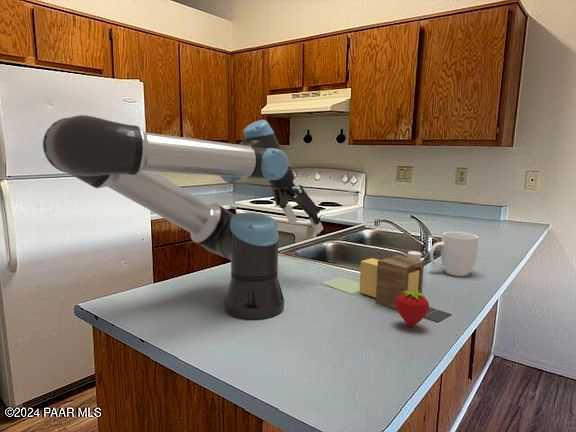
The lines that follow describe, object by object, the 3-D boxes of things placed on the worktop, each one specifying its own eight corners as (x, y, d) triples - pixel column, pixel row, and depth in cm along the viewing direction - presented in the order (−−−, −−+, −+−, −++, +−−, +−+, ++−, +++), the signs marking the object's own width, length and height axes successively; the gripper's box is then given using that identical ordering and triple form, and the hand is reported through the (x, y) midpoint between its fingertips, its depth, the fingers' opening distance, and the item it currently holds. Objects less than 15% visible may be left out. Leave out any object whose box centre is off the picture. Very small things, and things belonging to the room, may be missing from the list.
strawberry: (397, 318, 96) (400, 278, 95) (430, 325, 93) (433, 284, 91) (390, 327, 91) (393, 285, 90) (424, 335, 88) (427, 291, 86)
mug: (435, 278, 127) (438, 238, 125) (422, 268, 138) (425, 231, 136) (481, 278, 127) (485, 238, 125) (465, 268, 138) (468, 231, 136)
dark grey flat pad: (437, 322, 94) (437, 321, 94) (407, 312, 100) (407, 311, 100) (451, 314, 99) (451, 314, 99) (421, 305, 105) (421, 304, 105)
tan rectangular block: (406, 308, 101) (408, 274, 100) (359, 292, 112) (360, 261, 111) (417, 303, 105) (419, 270, 103) (370, 288, 116) (371, 258, 114)
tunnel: (402, 312, 100) (404, 267, 98) (375, 302, 106) (377, 260, 104) (421, 303, 106) (424, 261, 104) (395, 295, 112) (397, 255, 110)
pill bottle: (409, 279, 125) (411, 249, 124) (425, 284, 122) (427, 252, 120) (400, 283, 122) (402, 252, 120) (416, 288, 118) (418, 256, 116)
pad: (352, 294, 112) (352, 293, 112) (320, 283, 121) (320, 282, 121) (371, 287, 118) (371, 286, 118) (340, 277, 127) (340, 277, 127)
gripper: (313, 167, 108) (340, 227, 118) (265, 160, 129) (292, 212, 139) (293, 183, 106) (323, 243, 116) (247, 173, 126) (276, 225, 136)
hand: (306, 226), depth 127 cm, fingers open, 13 cm apart
